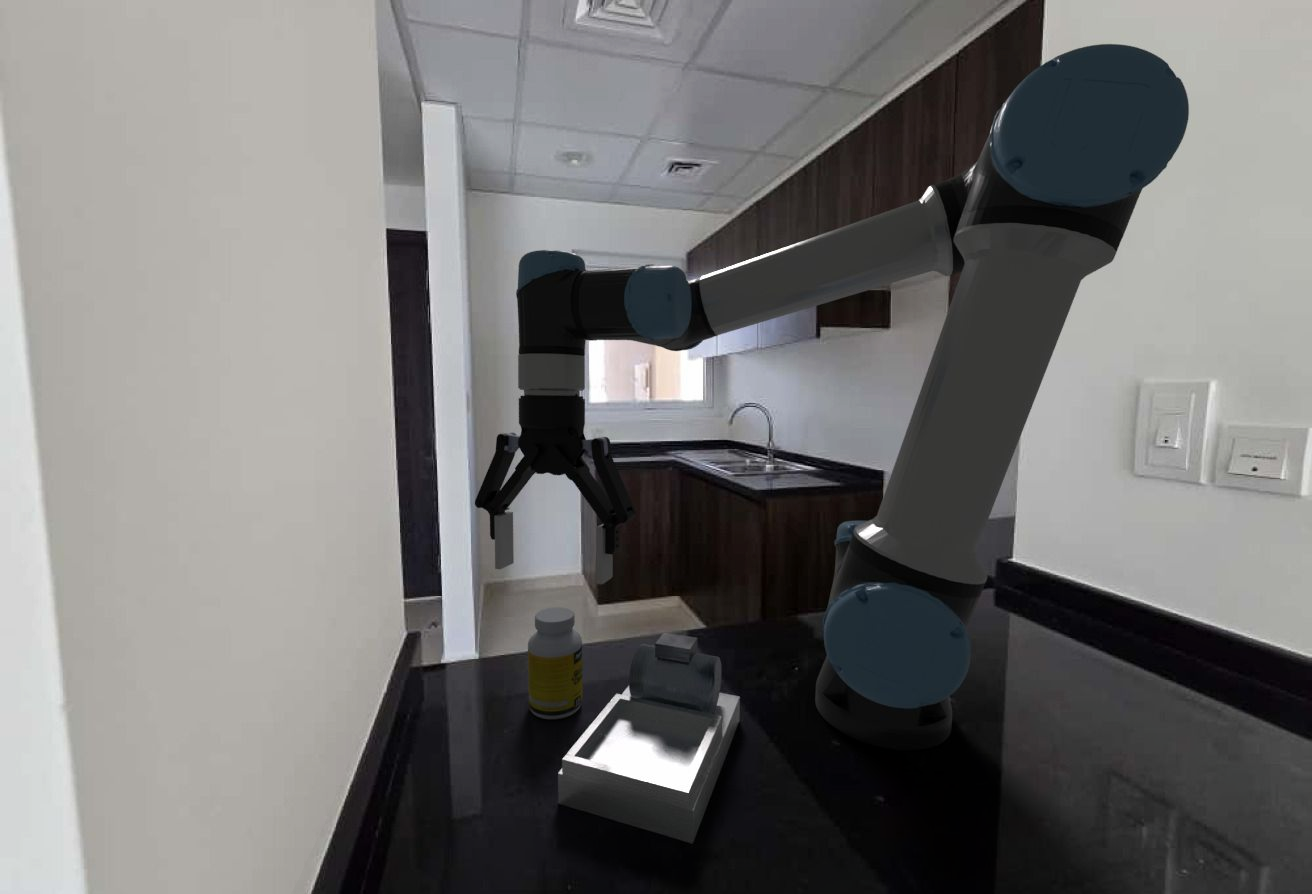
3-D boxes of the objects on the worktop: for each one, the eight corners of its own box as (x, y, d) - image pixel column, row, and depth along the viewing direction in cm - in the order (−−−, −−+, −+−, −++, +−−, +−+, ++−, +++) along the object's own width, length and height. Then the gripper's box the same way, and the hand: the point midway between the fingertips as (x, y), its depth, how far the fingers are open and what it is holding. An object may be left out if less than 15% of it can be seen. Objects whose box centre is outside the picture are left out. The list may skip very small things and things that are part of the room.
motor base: (692, 843, 47) (694, 727, 46) (558, 803, 52) (557, 697, 51) (739, 721, 65) (741, 635, 64) (636, 699, 69) (636, 618, 68)
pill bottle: (571, 725, 64) (571, 628, 63) (519, 718, 65) (517, 622, 64) (589, 695, 70) (589, 606, 69) (541, 689, 72) (540, 602, 70)
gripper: (665, 395, 63) (662, 576, 65) (482, 392, 72) (485, 552, 74) (640, 395, 56) (638, 598, 58) (441, 391, 65) (446, 569, 67)
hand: (552, 573), depth 66 cm, fingers open, 13 cm apart
